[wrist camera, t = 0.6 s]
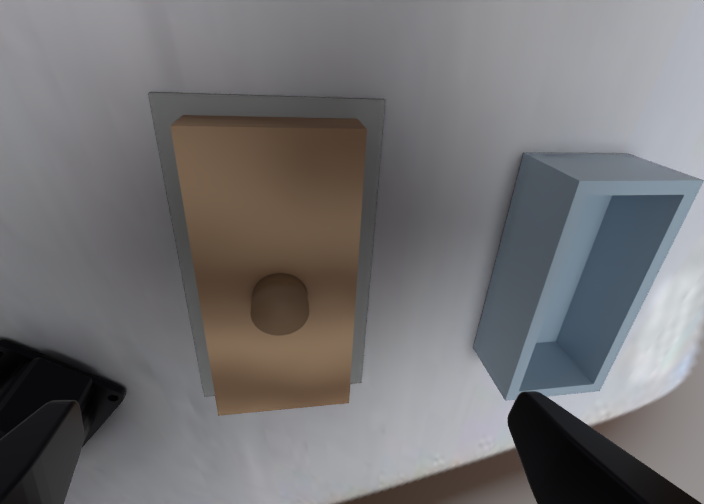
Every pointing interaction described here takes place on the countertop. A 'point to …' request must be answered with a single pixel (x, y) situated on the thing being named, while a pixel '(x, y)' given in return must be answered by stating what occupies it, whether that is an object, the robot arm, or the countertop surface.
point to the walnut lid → (274, 253)
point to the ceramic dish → (576, 267)
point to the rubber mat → (178, 104)
